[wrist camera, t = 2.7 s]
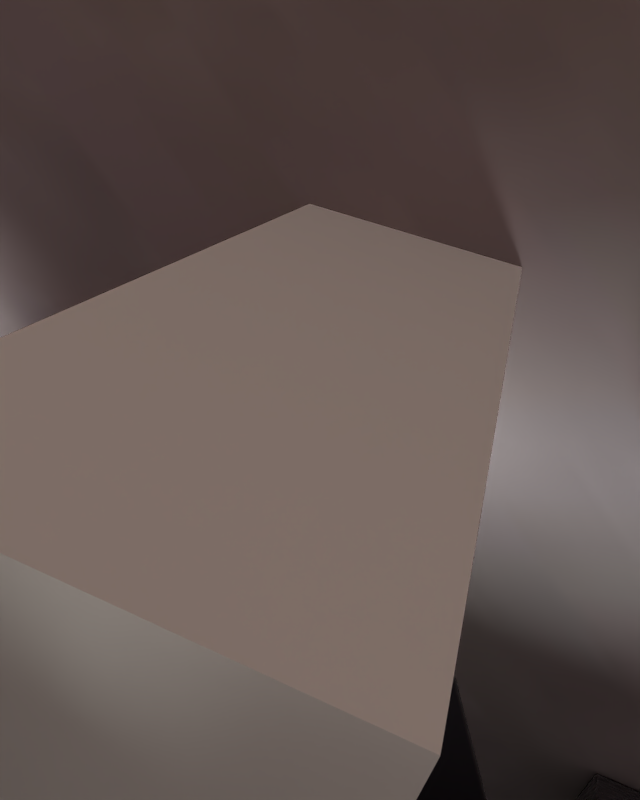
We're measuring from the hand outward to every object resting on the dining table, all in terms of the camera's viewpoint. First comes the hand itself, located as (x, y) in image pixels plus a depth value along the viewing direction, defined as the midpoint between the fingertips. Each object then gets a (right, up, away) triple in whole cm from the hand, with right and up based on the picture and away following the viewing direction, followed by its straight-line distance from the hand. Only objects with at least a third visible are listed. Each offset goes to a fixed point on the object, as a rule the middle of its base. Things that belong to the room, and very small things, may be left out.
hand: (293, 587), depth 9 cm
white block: (+1, +1, +2) cm, 2 cm away
